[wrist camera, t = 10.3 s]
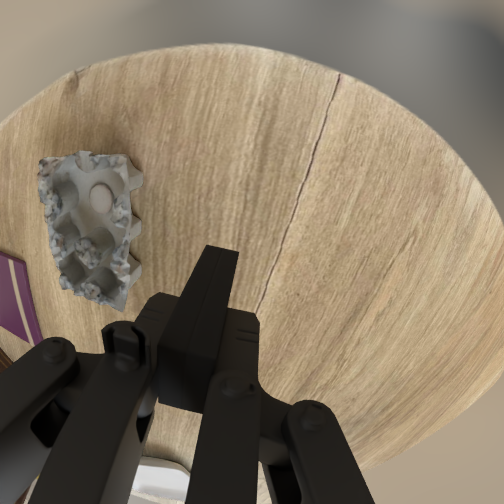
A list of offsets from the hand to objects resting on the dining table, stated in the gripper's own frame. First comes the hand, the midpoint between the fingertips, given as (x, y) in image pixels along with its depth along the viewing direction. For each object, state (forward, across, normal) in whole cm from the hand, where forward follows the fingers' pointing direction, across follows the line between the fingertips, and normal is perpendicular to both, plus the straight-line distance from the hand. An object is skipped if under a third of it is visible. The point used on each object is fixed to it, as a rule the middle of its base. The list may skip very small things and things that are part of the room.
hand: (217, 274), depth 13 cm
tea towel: (+6, -26, -14) cm, 30 cm away
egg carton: (+6, -10, -1) cm, 12 cm away
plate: (+6, -6, -49) cm, 50 cm away
